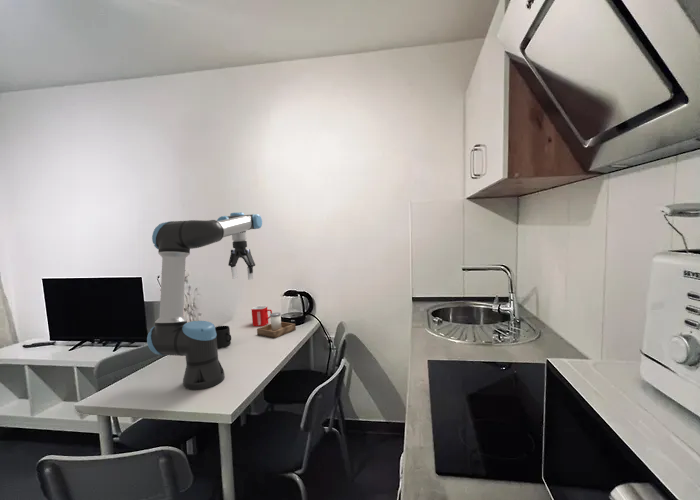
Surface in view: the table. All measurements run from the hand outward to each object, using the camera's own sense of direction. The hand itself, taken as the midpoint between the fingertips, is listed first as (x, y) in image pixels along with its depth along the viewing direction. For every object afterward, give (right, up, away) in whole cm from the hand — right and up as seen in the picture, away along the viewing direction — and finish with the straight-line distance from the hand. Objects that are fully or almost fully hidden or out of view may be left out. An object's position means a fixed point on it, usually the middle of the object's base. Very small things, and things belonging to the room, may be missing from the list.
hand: (242, 278), depth 195 cm
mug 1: (-6, -33, -14) cm, 37 cm away
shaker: (+18, -30, +3) cm, 35 cm away
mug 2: (+7, -30, +21) cm, 37 cm away
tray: (+18, -30, +3) cm, 36 cm away
